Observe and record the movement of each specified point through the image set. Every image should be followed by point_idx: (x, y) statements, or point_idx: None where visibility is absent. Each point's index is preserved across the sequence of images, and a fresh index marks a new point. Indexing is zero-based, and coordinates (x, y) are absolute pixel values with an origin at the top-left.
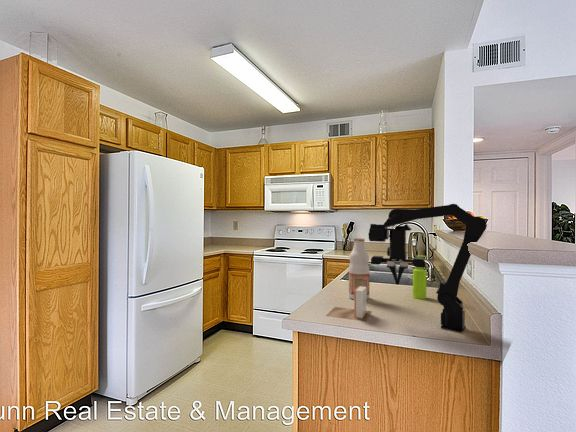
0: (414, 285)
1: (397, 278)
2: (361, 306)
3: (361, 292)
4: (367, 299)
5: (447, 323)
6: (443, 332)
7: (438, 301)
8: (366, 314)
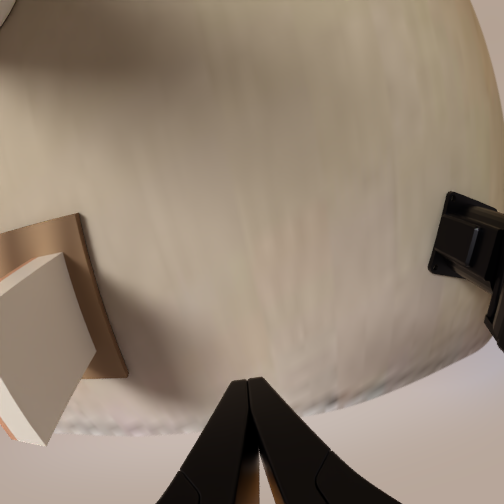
0: None
1: (248, 430)
2: (72, 385)
3: (44, 439)
4: (14, 2)
5: (459, 273)
6: (428, 309)
7: (494, 332)
8: (79, 287)
